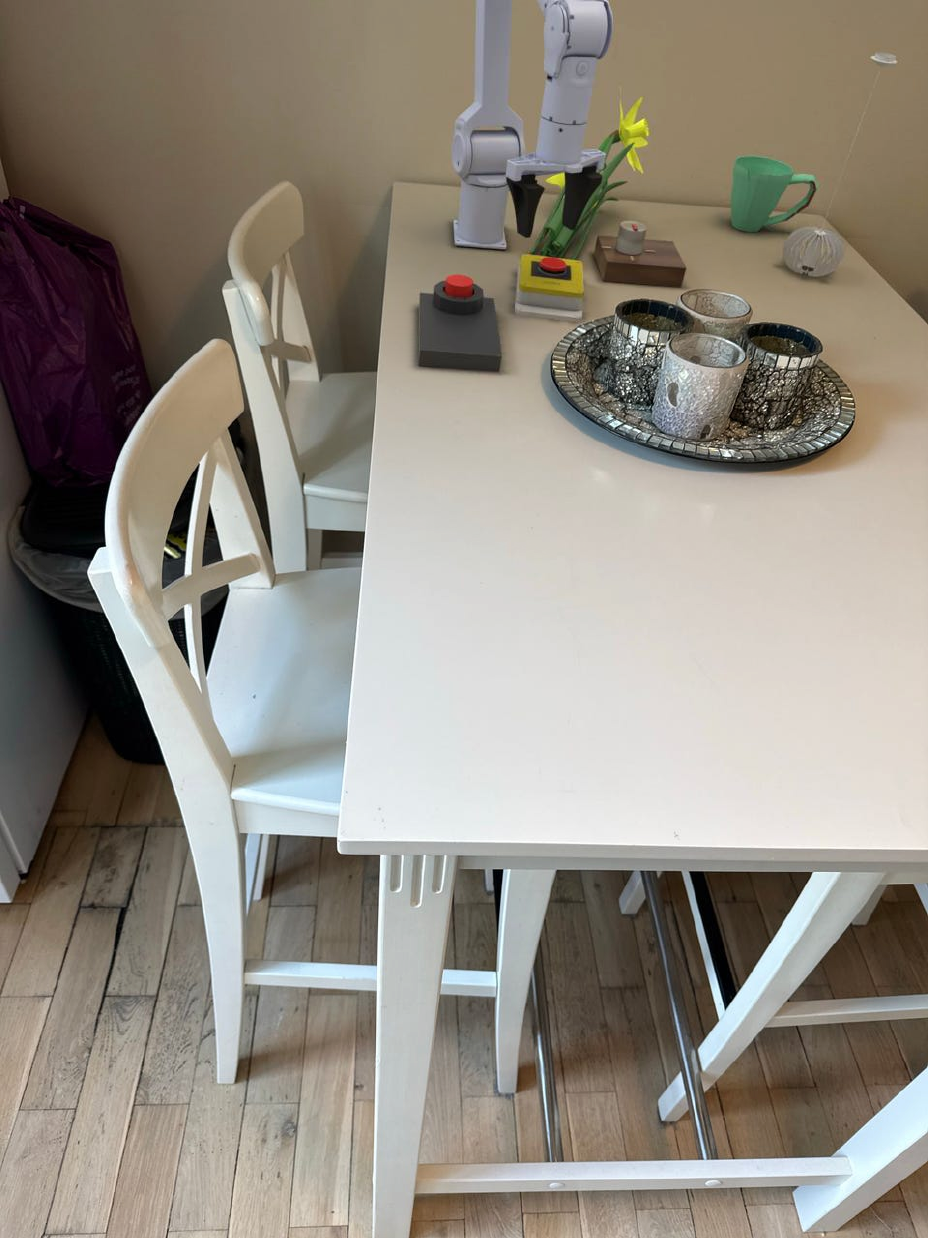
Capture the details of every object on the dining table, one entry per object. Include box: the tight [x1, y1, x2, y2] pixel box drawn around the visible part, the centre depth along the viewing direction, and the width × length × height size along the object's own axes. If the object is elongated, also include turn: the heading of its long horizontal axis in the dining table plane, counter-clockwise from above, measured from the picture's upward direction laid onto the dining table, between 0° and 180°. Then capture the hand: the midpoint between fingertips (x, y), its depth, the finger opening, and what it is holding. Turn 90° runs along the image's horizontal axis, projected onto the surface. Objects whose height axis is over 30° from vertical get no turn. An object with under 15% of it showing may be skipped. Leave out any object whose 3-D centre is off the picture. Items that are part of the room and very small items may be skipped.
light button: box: [445, 274, 474, 298], centre depth 115 cm, size 4×4×2 cm
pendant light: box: [782, 52, 898, 278], centre depth 132 cm, size 9×9×30 cm
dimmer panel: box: [593, 234, 687, 288], centre depth 134 cm, size 10×12×3 cm
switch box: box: [418, 280, 503, 373], centre depth 113 cm, size 17×10×4 cm, turn 2°
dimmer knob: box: [615, 220, 648, 255], centre depth 132 cm, size 4×4×4 cm
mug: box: [730, 155, 819, 233], centre depth 150 cm, size 15×10×10 cm
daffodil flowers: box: [528, 85, 650, 260], centre depth 141 cm, size 17×15×35 cm
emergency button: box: [514, 253, 585, 323], centre depth 124 cm, size 9×4×15 cm
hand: (546, 231), depth 117 cm, fingers open, 7 cm apart
